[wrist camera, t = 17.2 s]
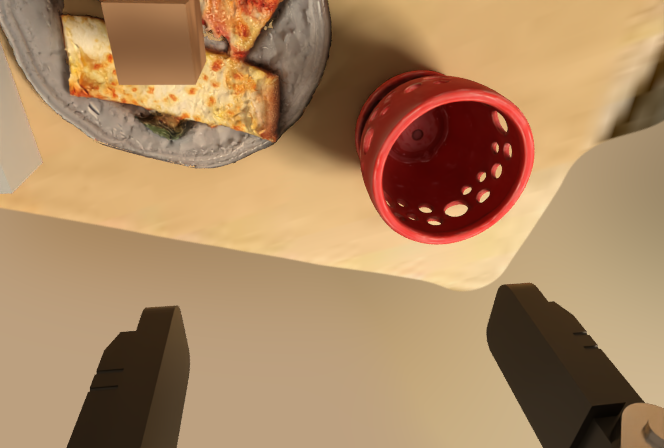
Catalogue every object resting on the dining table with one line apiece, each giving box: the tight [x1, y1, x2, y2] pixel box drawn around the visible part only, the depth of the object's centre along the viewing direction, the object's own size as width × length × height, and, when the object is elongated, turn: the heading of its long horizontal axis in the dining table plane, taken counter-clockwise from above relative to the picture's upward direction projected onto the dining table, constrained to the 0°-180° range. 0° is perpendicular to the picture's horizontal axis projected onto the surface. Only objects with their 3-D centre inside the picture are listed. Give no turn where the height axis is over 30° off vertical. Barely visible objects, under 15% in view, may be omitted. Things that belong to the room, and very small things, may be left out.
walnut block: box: [101, 0, 206, 85], centre depth 32 cm, size 5×5×7 cm
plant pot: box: [355, 70, 534, 244], centre depth 39 cm, size 13×13×12 cm
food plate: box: [0, 0, 332, 168], centre depth 36 cm, size 25×23×4 cm
